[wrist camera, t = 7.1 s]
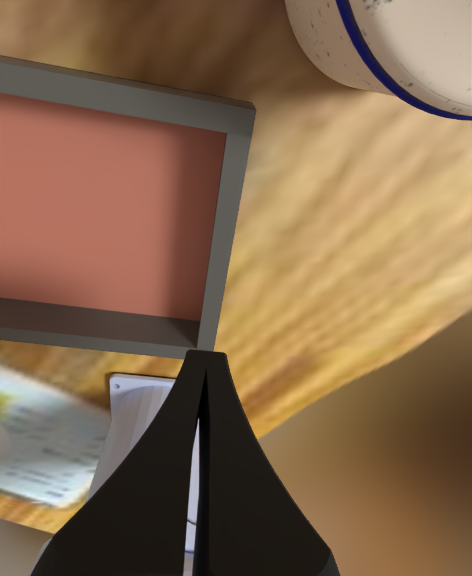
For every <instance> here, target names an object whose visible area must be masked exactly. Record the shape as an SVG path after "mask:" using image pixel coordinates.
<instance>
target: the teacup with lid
mask: <svg viewBox="0 0 472 576" xmlns="http://www.w3.org/2000/svg"><path fill="white" fill-rule="evenodd" d="M284 1H285V6H286V10H287V15H288V18H289V21H290V24H291V28H292V30H293V32H294V35H295V37H296V39H297V41H298V43H299V45H300V46H301V48H302V50H303V51H304V53H305V54H306V56H307V57H308V58H309V59H310V61H311V62H312V63H313V64H314V65H315V66H316V67H317V68H318V69H319V70H320V71H321V72H323V73H324V74H325V75H327V76H328V77H329V78H331V79H333V80H335V81H336V82H339V83H341V84H343V85H346V86H350V87H353V88H358V89H363V90H367V91H372V92H377V93H382V94H387V95H392V96H397V97H399V98H400V99H402V100H403V101H405V102H407V103H408V104H410V105H412V106H414V107H416V108H418V109H420V110H423V111H425V112H427V113H430V114H434V115H437V116H441V117H445V118H451V119H457V120H472V0H284Z"/></svg>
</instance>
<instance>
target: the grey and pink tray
mask: <svg viewBox="0 0 472 576" xmlns="http://www.w3.org/2000/svg"><path fill="white" fill-rule="evenodd" d="M255 114H256V109H255V107H254V105H253V104H252V103H251V102H245V101H240V100H235V99H230V98H224V97H219V96H214V95H208V94H203V93H198V92H192V91H187V90H182V89H176V88H171V87H166V86H160V85H155V84H150V83H145V82H139V81H134V80H129V79H123V78H118V77H113V76H107V75H102V74H97V73H91V72H86V71H81V70H75V69H70V68H65V67H60V66H54V65H49V64H44V63H38V62H33V61H28V60H22V59H17V58H12V57H6V56H1V55H0V340H6V341H15V342H25V343H34V344H44V345H53V346H63V347H72V348H81V349H91V350H100V351H110V352H119V353H129V354H138V355H148V356H157V357H167V358H176V359H185V356H186V351H188V350H190V349H192V350H203V351H214V345H215V339H216V334H217V328H218V323H219V317H220V311H221V306H222V300H223V294H224V289H225V283H226V278H227V272H228V266H229V261H230V255H231V249H232V244H233V238H234V233H235V227H236V221H237V216H238V210H239V204H240V199H241V193H242V188H243V182H244V176H245V171H246V165H247V159H248V154H249V148H250V143H251V137H252V131H253V126H254V120H255Z"/></svg>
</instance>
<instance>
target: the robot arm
mask: <svg viewBox="0 0 472 576" xmlns="http://www.w3.org/2000/svg"><path fill="white" fill-rule="evenodd" d="M109 383H110V402H111V425H110V428H109V431H108V434H107V437H106V440H105V443H104V446H103V449H102V452H101V455H100V458H99V462H98V465H97V468H96V471H95V474H94V477H93V480H92V483H91V486H90V489H89V492H88V495H87V498H86V501H85V504H84V506H83V507H82V508H81V509H80V510H79V511H78V512H77V513H76V514H75V515H74V516H73V517H72V518H71V519H70V520H69V521H68V522H67V523H66V524H65V525H64V526H63V527H62V528H61V529H60V530H59V531H58V532H57V533H56V534H55V535H54V536H53V538H51V539H50V540H48V541H47V542H46V543H45V544H44V545H43V547H42V548H41V550H40V552H39V554H38V556H37V558H36V560H35V562H34V564H33V567H32V569H31V571H30V574H29V576H340V573H339V571H338V567H337V564H336V562H335V559H334V556H333V554H332V552H331V549H330V548H329V547H328V546H327V544H326V543H325V542H324V540H323V539H322V538H321V537H320V536H319V534H318V533H317V532H316V530H315V529H314V528H313V526H312V525H311V524H310V522H309V521H308V520H307V518H306V517H305V516H304V514H303V513H302V512H301V510H300V509H299V507H298V506H297V505H296V503H295V502H294V500H293V499H292V497H291V496H290V494H289V493H288V491H287V490H286V488H285V487H284V485H283V483H282V482H281V480H280V479H279V477H278V476H277V474H276V473H275V471H274V469H273V468H272V466H271V464H270V463H269V461H268V459H267V457H266V456H265V454H264V452H263V450H262V448H261V446H260V445H259V443H258V441H257V439H256V437H255V435H254V433H253V430H252V428H251V426H250V424H249V422H248V419H247V417H246V415H245V413H244V410H243V408H242V405H241V403H240V400H239V397H238V395H237V392H236V389H235V386H234V383H233V380H232V376H231V373H230V369H229V365H228V360H227V355H226V354H225V353H223V352H213V351H203V350H192V349H190V350H188V351H186V356H185V359H184V362H183V365H182V367H181V370H180V372H179V374H178V376H177V378H176V379H167V378H157V377H147V376H136V375H126V374H113V375H111V377H110V380H109ZM117 384H118V385H117Z"/></svg>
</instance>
